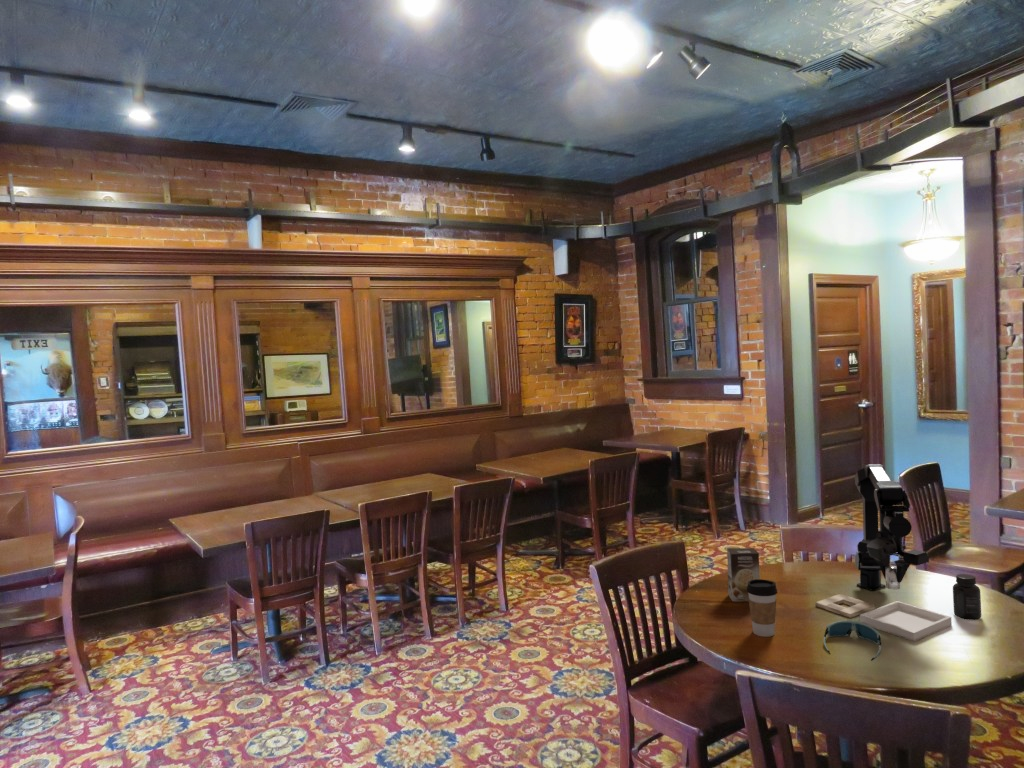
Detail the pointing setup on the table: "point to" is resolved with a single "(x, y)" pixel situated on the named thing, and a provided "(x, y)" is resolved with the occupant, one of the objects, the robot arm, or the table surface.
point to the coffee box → (741, 571)
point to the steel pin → (891, 577)
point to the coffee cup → (762, 606)
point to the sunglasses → (849, 626)
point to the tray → (906, 620)
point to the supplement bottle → (966, 598)
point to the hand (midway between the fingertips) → (892, 580)
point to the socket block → (852, 611)
